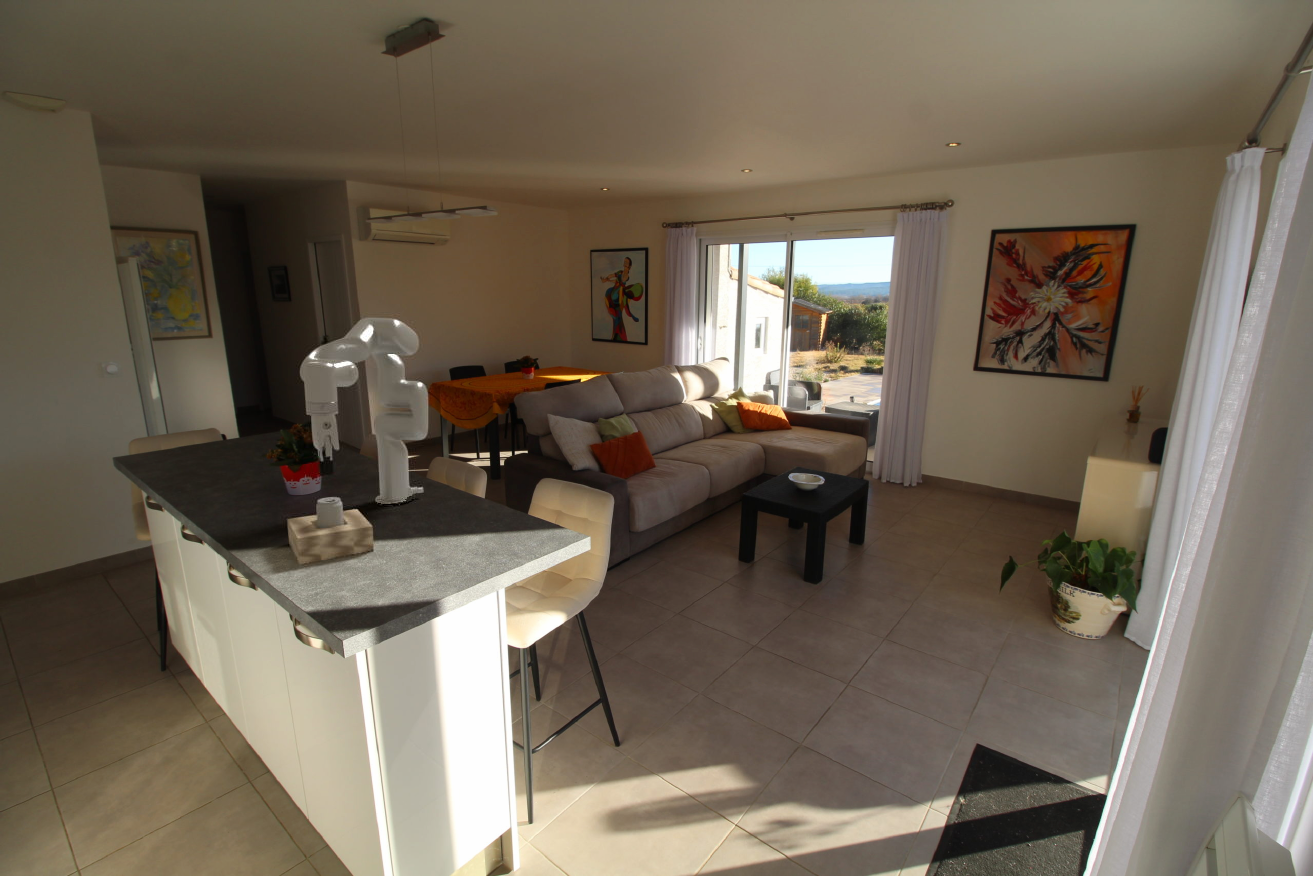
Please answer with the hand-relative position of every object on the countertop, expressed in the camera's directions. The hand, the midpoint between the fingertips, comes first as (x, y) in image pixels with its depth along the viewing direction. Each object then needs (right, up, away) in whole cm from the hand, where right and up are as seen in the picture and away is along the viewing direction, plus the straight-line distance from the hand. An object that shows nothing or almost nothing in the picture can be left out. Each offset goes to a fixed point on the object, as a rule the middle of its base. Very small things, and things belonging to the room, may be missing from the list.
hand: (326, 474), depth 166 cm
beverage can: (0, -19, +3) cm, 19 cm away
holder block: (-1, -21, +4) cm, 21 cm away
